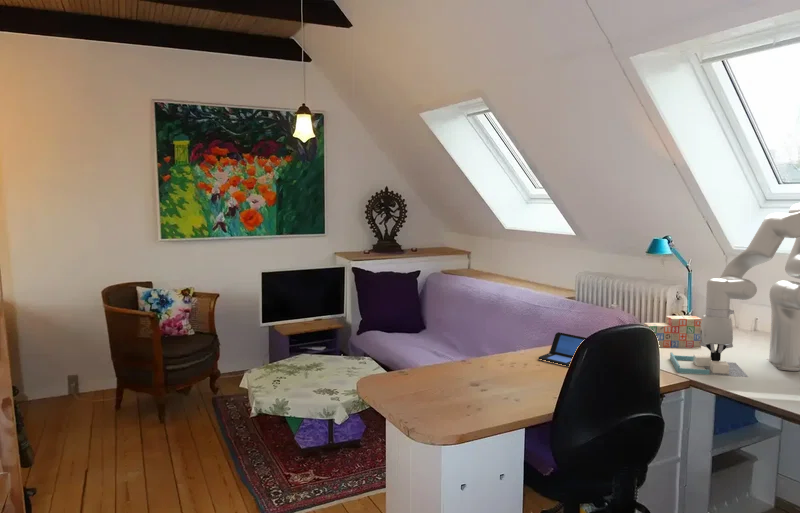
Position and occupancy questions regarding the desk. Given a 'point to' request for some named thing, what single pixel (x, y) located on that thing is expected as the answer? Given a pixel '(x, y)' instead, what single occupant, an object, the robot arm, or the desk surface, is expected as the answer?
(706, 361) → the tile
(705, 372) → the box
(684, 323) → the stack of blocks
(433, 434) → the desk surface
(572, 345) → the handheld game console
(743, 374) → the plate
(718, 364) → the off-white rectangular block
